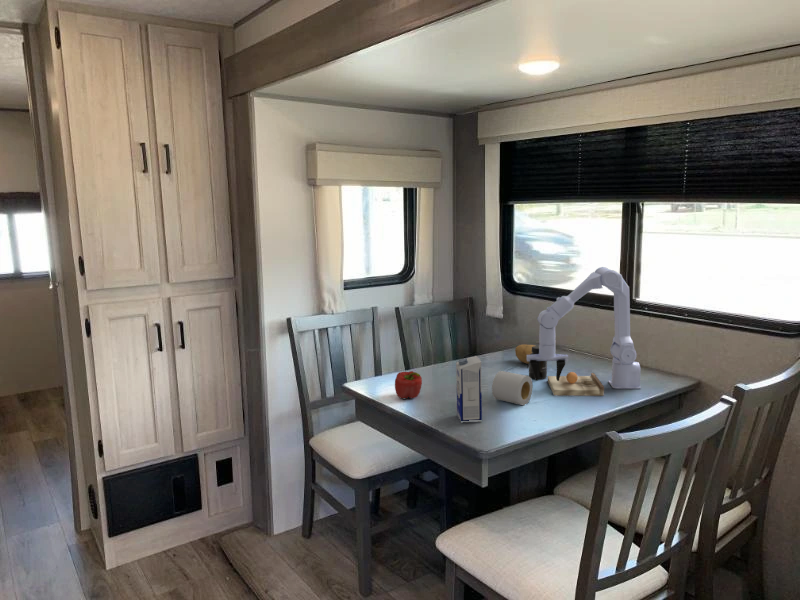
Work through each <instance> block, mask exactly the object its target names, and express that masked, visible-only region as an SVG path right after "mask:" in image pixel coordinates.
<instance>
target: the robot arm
mask: <svg viewBox="0 0 800 600" xmlns="http://www.w3.org/2000/svg"><path fill="white" fill-rule="evenodd" d="M603 287H605V288H606V289H608V290H609V291H611V293H612V294H613V313H614V314H613V318H614V335H613V338H612V343H611V345H610V351H609V352H610V354H611V356H612V357H613V358H612V363H611V380H608V383H609V385H611V387H612V388H613V389H642V387H641V373H642V371H641V370H642V369H641V365H640V362H638V361H636V359H637V356H638V354H637V351H636V349H635V345H634V342H633V341H634V340H633V339H632V337H631V309H630V308H631V307H630V305H631V301H630V298H631V297H630V286H629V285H628V283H626V281H625V279H624V278H623V274H621V273H619V272H617V271H616V270H613V269H609V268H607V267H604V266H601V267H598V268H596V269H595V270H594V271H593V272H591V273H590V274H589V275H588V276H587V277H586V278H585V279H584V280H583V281H582V282H580V284H579V285H578V286H577V287H576V288H575V289H574V290H572V291H571V292H570V293H569V294H568V295H562V296H561V297H560V296H558V297H556V301H554V303H552V304H551V305H550V306H547V307H546V308H545V309H544V310H541V311H540V312H539V314H538V316H537V317H536V319H537V322H538V324H539V331H538V335H539V336H538V343H539V344H538V346H539V354H533V355H527V361H530V364H531V366H532V368H533V371H534V375H535V379H534V380H535V382H537V381H538V380H539V379H538V376H537V367H538V364H537V361H547V362H551V361H552V362H553V361H554V362H556V374H555V376H556V379H557V381H559V378H560V376H561V374H562V371H563V369H564V368H565V366H566V362H569V355H568V354H560V353H556V338H557V337H556V336H557V335H556V327H557V325H558V324H559V321H560V320H561V319H562V318H563V317H564V316H566V315H567V314H568V313H569V312H571V311H572V310H573V309H574V308H575V307H574V306H575V303H576V302H577V301H579V299H581V298H582V297H584V296H585V295H586V294H588V293H589V292H590V291H592V290H600V289H603Z"/></svg>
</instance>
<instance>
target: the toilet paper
mask: <svg viewBox="0 0 800 600" xmlns="http://www.w3.org/2000/svg"><path fill="white" fill-rule="evenodd" d="M533 386H534V385H533V381H532V378H530V377H529V375H525V374H520V373H514V372H508V371H505V370H504V371H503V370H499V371H498V372H497V373H496V374H495V376H494V377H493V380H492V384H491V392H492V393H491V394H492V396H493V398H494V399H495V400H497V401H503V402H507V403H511V404H515V405H521V406H525V404H526V405H527V404H528V403H529V402H530V399H531V397H532V394H533Z"/></svg>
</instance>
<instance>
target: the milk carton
mask: <svg viewBox="0 0 800 600" xmlns="http://www.w3.org/2000/svg"><path fill="white" fill-rule="evenodd" d="M455 362H456V363H455V364H456V366H455V369H456V370H455V372H456V375H455V376H456V378H455V379H456V416H457V415H458V416H457V418H458V417H459V418H460V420H461V421H469V420H482V421H483V414H482V413H483V410H482V409H483V408H482V407H483V403H482V402H483V397H482V393H483V392H482V391H483V390H482V386H483V385H482V360H481V359H480V358H479V356H477V355H474V356H470V357H465V358H461V359H459V360H458V361H455ZM459 418H458V419H459ZM460 420H459V421H460Z"/></svg>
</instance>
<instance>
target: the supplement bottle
mask: <svg viewBox="0 0 800 600" xmlns="http://www.w3.org/2000/svg"><path fill="white" fill-rule="evenodd" d="M533 354H539V345H535V346H533V347H532V353H531V354H530V355H533ZM537 364H538V367H537V376H538V380H545V379H546V378H548V375H547V374H548V361H537ZM528 376H529V377H530V378H531V380H532V379H533V380H535V375H534V371H533V368H532V366H531V364H530V361H529V364H528Z"/></svg>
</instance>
